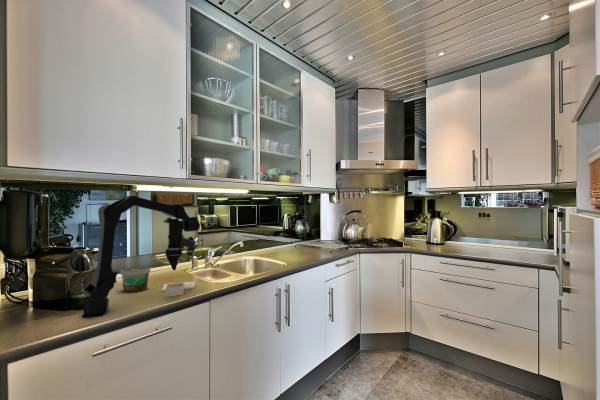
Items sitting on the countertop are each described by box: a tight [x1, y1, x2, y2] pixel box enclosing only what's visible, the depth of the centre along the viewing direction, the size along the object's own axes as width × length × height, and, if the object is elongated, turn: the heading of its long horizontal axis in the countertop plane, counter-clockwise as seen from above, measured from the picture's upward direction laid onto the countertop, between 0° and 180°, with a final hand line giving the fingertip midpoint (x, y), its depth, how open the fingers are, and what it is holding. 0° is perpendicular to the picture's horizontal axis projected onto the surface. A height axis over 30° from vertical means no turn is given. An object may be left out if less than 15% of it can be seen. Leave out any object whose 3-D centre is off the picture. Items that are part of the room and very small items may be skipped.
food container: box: [119, 267, 151, 294], centre depth 125 cm, size 12×6×10 cm, turn 105°
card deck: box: [165, 282, 185, 297], centre depth 122 cm, size 5×7×4 cm
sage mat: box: [161, 281, 196, 292], centre depth 132 cm, size 14×10×1 cm
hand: (175, 267), depth 122 cm, fingers open, 9 cm apart
